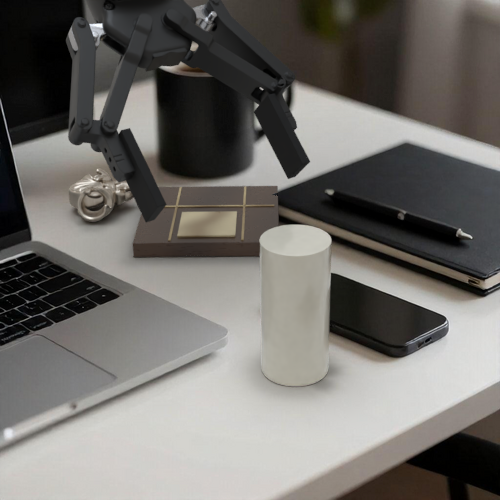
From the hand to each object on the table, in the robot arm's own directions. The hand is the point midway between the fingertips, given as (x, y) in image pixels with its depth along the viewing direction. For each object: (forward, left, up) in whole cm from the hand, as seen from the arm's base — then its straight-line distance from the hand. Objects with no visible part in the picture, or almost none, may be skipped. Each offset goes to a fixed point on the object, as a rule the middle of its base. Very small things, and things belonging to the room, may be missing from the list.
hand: (231, 191), depth 71 cm
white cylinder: (-5, +6, -12) cm, 14 cm away
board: (+3, -20, -12) cm, 24 cm away
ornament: (+15, -25, -12) cm, 31 cm away
